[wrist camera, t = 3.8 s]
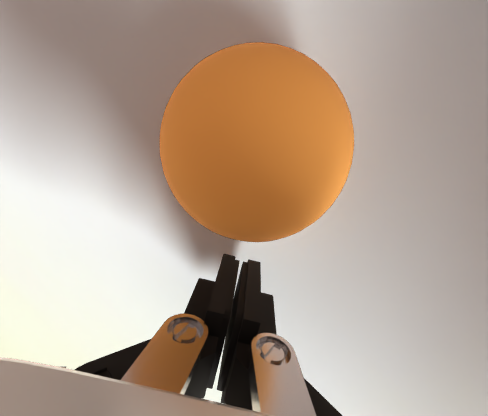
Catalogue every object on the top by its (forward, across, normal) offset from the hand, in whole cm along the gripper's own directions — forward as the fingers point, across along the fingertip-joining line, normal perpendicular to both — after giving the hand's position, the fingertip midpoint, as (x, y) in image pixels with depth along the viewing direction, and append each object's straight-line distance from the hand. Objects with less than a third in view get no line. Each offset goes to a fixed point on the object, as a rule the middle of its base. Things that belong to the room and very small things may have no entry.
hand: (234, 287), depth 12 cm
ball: (-1, 0, -6) cm, 6 cm away
